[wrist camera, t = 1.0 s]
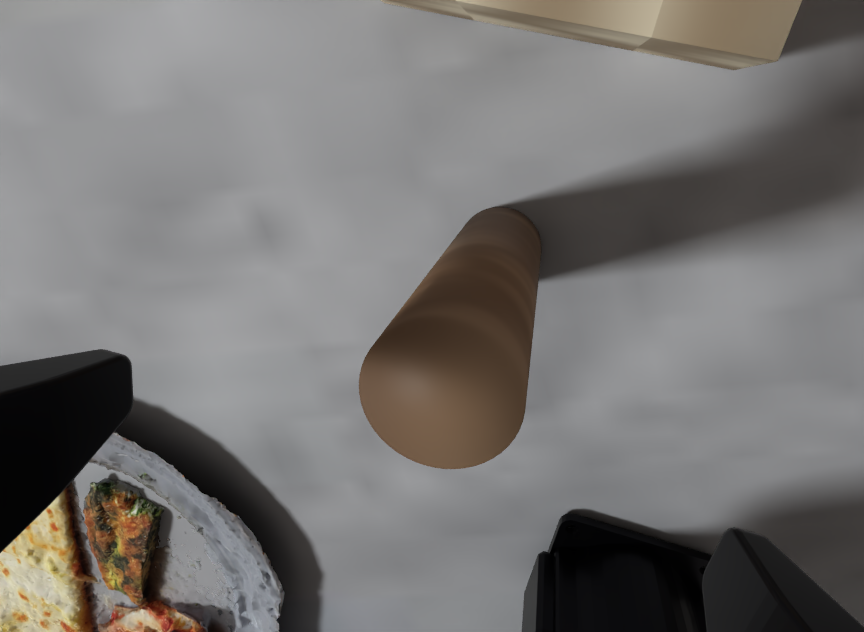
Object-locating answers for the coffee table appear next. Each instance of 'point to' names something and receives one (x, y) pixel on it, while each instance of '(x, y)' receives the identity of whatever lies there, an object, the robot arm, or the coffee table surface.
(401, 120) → the coffee table surface
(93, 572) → the food plate
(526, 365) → the walnut peg
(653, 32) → the hole block
